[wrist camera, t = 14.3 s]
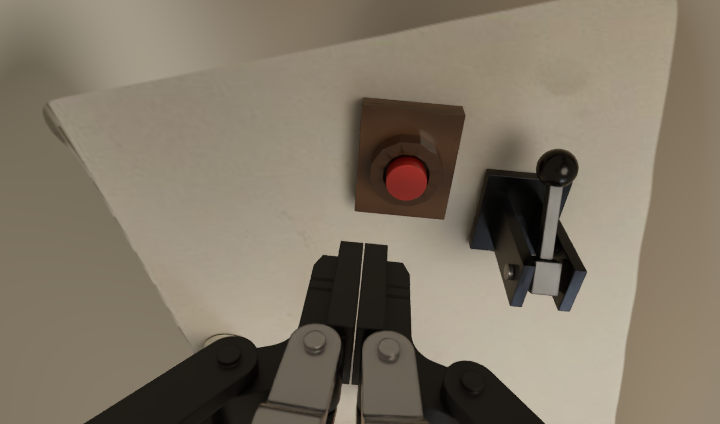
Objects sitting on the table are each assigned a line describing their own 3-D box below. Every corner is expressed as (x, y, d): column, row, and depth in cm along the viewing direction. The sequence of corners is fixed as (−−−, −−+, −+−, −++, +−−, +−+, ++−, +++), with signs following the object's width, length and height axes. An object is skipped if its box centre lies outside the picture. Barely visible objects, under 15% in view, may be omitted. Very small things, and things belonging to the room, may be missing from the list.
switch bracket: (486, 168, 44) (511, 240, 34) (569, 176, 44) (618, 250, 34) (468, 242, 49) (485, 323, 39) (542, 249, 49) (578, 332, 39)
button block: (363, 97, 41) (360, 113, 38) (462, 106, 41) (468, 123, 38) (356, 200, 47) (352, 221, 44) (442, 208, 47) (445, 230, 44)
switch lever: (533, 147, 39) (547, 146, 36) (571, 151, 39) (588, 150, 35) (514, 284, 40) (526, 294, 37) (551, 287, 40) (566, 298, 37)
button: (388, 154, 40) (388, 163, 39) (428, 157, 40) (430, 167, 39) (384, 189, 42) (384, 198, 41) (423, 192, 42) (423, 202, 41)
